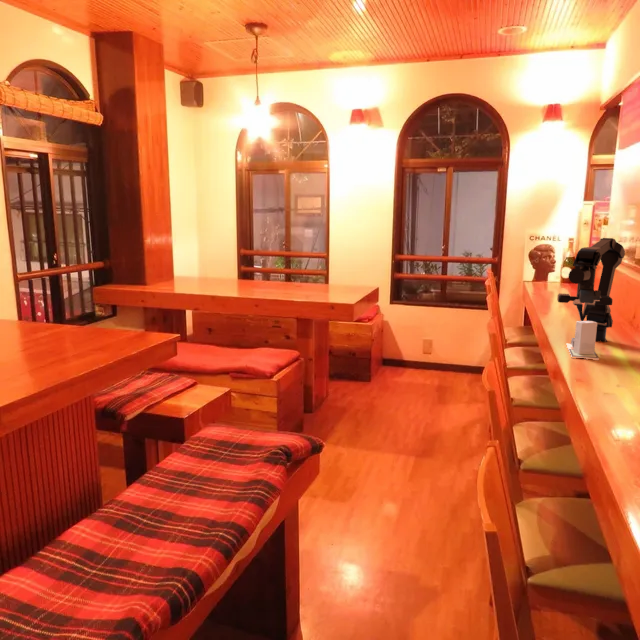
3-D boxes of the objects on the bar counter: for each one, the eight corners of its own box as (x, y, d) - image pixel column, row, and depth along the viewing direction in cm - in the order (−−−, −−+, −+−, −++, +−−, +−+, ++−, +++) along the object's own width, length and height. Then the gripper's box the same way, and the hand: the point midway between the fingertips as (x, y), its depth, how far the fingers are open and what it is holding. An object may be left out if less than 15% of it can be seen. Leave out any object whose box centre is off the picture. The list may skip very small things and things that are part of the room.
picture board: (565, 345, 218) (566, 337, 218) (590, 347, 216) (591, 339, 215) (571, 358, 200) (572, 349, 199) (598, 360, 197) (599, 351, 196)
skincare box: (587, 351, 206) (591, 320, 203) (594, 354, 201) (598, 322, 199) (572, 351, 205) (575, 320, 202) (579, 355, 201) (582, 322, 198)
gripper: (561, 282, 204) (557, 323, 207) (617, 285, 198) (612, 327, 201) (559, 279, 214) (555, 318, 218) (611, 281, 209) (607, 321, 212)
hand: (582, 321), depth 212 cm, fingers closed
